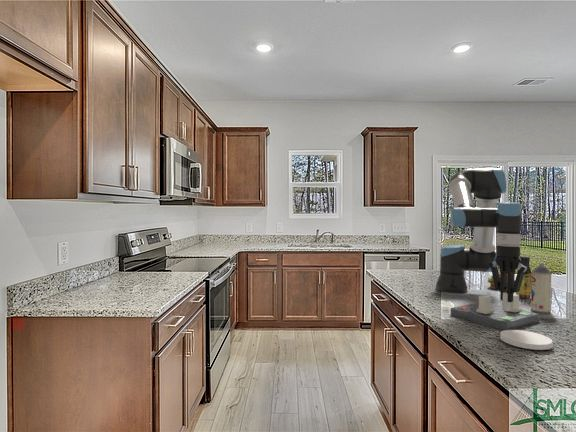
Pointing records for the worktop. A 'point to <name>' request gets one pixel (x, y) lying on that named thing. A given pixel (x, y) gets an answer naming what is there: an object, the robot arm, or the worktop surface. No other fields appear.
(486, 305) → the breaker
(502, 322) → the breaker box
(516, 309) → the lever
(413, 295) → the worktop surface
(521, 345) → the plastic lid
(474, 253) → the robot arm
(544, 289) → the aerosol can
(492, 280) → the food
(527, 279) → the sauce bottle
